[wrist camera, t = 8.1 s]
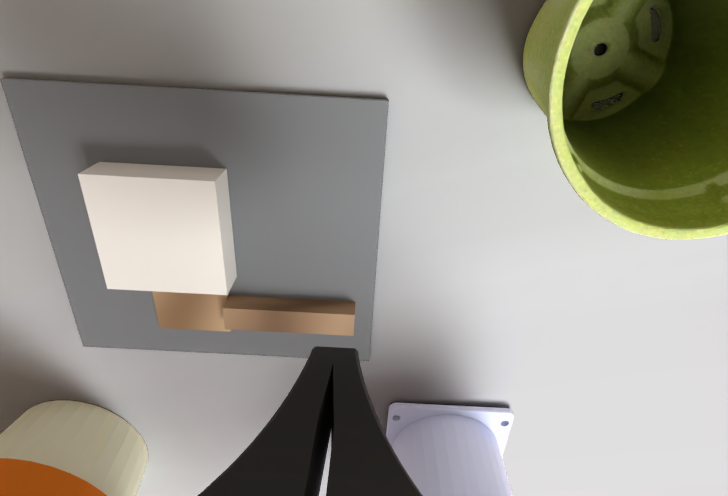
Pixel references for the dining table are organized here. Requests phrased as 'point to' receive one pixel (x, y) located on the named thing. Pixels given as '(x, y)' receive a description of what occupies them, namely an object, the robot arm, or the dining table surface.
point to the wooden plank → (253, 313)
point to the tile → (161, 227)
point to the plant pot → (638, 109)
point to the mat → (246, 192)
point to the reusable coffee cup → (71, 452)
